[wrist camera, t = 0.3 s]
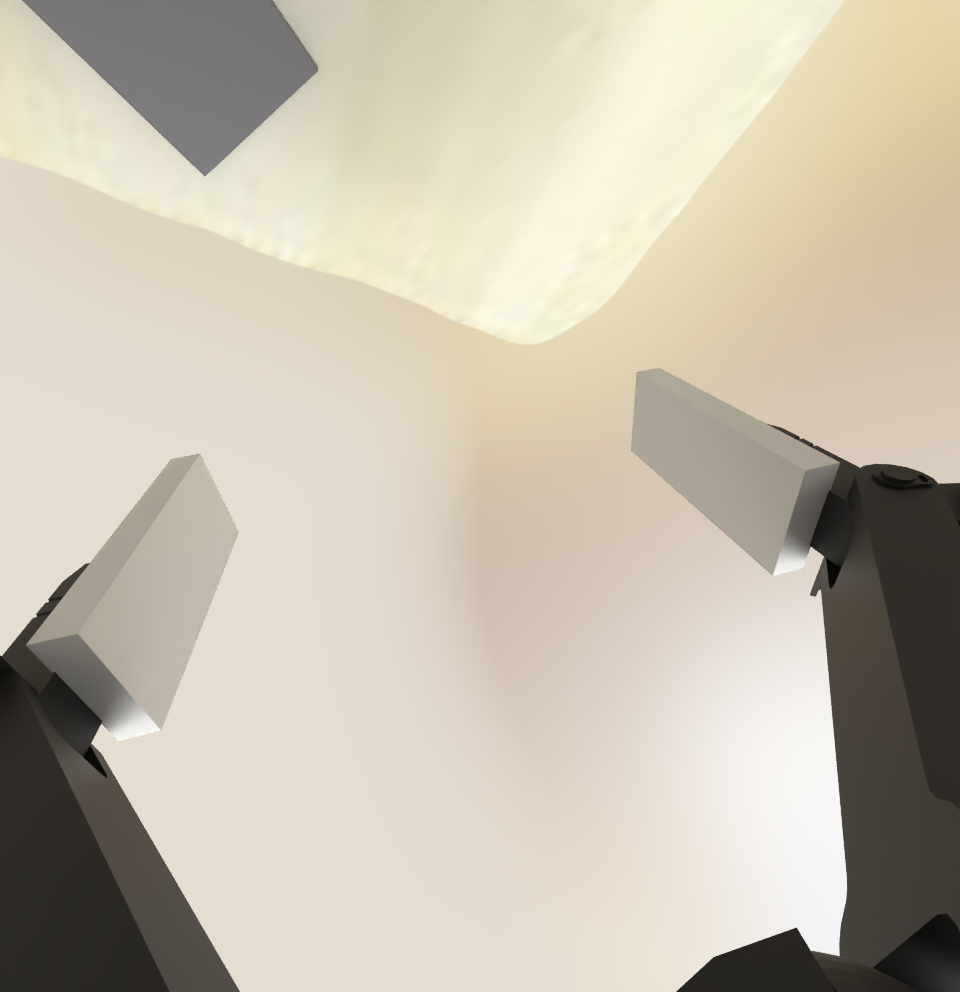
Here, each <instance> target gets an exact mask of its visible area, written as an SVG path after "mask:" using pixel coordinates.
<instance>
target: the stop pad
mask: <svg viewBox="0 0 960 992" xmlns="http://www.w3.org/2000/svg"><path fill="white" fill-rule="evenodd" d="M22 1H23V2H24V3H25V4H27V5H28V6H29V7H30V8H31V9H32V10H33V11H34V12H35V13H36V14H37V15H38V16H39V17H40V18H41V19H42V20H43V21H44V22H45V23H46V24H47V25H48V26H49V27H50V28H51V29H52V30H53V31H55V32H56V33H57V34H58V35H59V36H60V37H61V38H62V39H63V40H64V41H65V42H66V43H67V44H68V45H69V46H70V47H71V48H72V49H73V50H74V51H75V52H76V53H77V54H78V55H79V56H80V57H81V58H83V59H84V60H85V61H86V62H87V63H88V64H89V65H90V66H91V67H92V68H93V69H94V70H95V71H96V72H97V73H98V74H99V75H100V76H101V77H102V78H103V79H104V80H105V81H106V82H107V83H108V84H109V85H111V86H112V87H113V88H114V89H115V90H116V91H117V92H118V93H119V94H120V95H121V96H122V97H123V98H124V99H125V100H126V101H127V102H128V103H129V104H130V105H131V106H132V107H133V108H134V109H135V110H136V111H138V112H139V113H140V114H141V115H142V116H143V117H144V118H145V119H146V120H147V121H148V122H149V123H150V124H151V125H152V126H153V127H154V128H155V129H156V130H157V131H158V132H159V133H160V134H161V135H162V136H163V137H164V138H166V139H167V140H168V141H169V142H170V143H171V144H172V145H173V146H174V147H175V148H176V149H177V150H178V151H179V152H180V153H181V154H182V155H183V156H184V157H185V158H186V159H187V160H188V161H189V162H190V163H191V164H192V165H194V166H195V167H196V168H197V169H198V170H199V171H200V172H201V173H202V174H203V175H204V176H206V175H207V174H208V173H209V172H210V171H211V170H212V169H214V168H215V167H216V166H217V165H218V164H219V163H220V162H221V161H222V160H223V159H224V158H225V157H226V156H227V155H229V154H230V153H231V152H232V151H233V150H234V149H235V148H236V147H237V146H238V145H239V144H240V143H241V142H242V141H243V140H245V139H246V138H247V137H248V136H249V135H250V134H251V133H252V132H253V131H254V130H255V129H256V128H257V127H258V126H260V125H261V124H262V123H263V122H264V121H265V120H266V119H267V118H268V117H269V116H270V115H271V114H272V113H273V112H274V111H276V110H277V109H278V108H279V107H280V106H281V105H282V104H283V103H284V102H285V101H286V100H287V99H288V98H289V97H291V96H292V95H293V94H294V93H295V92H296V91H297V90H298V89H299V88H300V87H301V86H302V85H303V84H304V83H305V82H307V81H308V80H309V79H310V78H311V77H312V76H313V75H314V74H315V73H316V72H317V71H318V67H317V65H316V64H315V62H314V61H313V59H312V58H311V56H310V55H309V54H308V52H307V51H306V49H305V48H304V46H303V45H302V43H301V42H300V40H299V39H298V37H297V36H296V35H295V33H294V32H293V30H292V29H291V27H290V26H289V24H288V23H287V21H286V20H285V19H284V17H283V16H282V14H281V13H280V11H279V10H278V8H277V7H276V5H275V4H274V2H273V1H272V0H22Z"/></svg>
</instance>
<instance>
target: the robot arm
mask: <svg viewBox="0 0 960 992" xmlns="http://www.w3.org/2000/svg"><path fill="white" fill-rule="evenodd" d="M631 451H632V452H633V453H635V454H636V455H637V456H638V457H639V458H640V459H641V460H642V461H644V462H645V463H646V464H647V465H648V466H649V467H650V468H652V469H653V470H654V471H655V472H656V473H657V474H658V475H659V476H661V477H662V478H663V479H664V480H665V481H666V482H667V483H668V484H670V485H671V486H672V487H673V488H674V489H675V490H676V491H677V492H679V493H680V494H681V495H682V496H683V497H684V498H686V499H687V500H688V501H689V502H690V503H691V504H692V505H693V506H695V507H696V508H697V509H698V510H699V511H700V512H701V513H702V514H704V515H705V516H706V517H707V518H708V519H709V520H710V521H711V522H713V523H714V524H715V525H716V526H717V527H718V528H719V529H721V530H722V531H723V532H724V533H725V534H726V535H727V536H729V537H730V538H731V539H732V540H733V541H734V542H735V543H736V544H737V545H739V546H740V547H741V548H742V549H743V550H744V551H745V552H746V553H748V554H749V555H750V556H751V557H752V558H753V559H754V560H756V561H757V562H758V563H759V564H760V565H761V566H762V567H763V568H765V569H766V570H767V571H768V572H769V573H770V574H771V575H773V576H774V575H778V574H782V573H786V572H790V571H794V570H798V569H802V568H803V567H804V564H805V561H806V558H807V555H808V553H809V550H810V547H812V548H814V549H815V550H816V551H818V552H819V553H821V554H822V555H823V556H824V558H823V561H822V564H821V566H820V569H819V572H818V574H817V577H816V580H815V582H814V585H813V587H812V590H811V593H810V595H811V596H816V595H817V592H818V590H820V589H821V593H822V605H823V615H824V626H825V638H826V649H827V660H828V671H829V682H830V694H831V705H832V716H833V727H834V738H835V749H836V761H837V772H838V782H839V794H840V805H841V816H842V827H843V838H844V849H845V860H846V872H847V898H846V904H845V909H844V913H843V918H842V922H841V931H840V943H839V946H840V956H835V955H830V954H826V953H821V952H815V951H810V949H809V947H808V946H807V944H806V942H805V941H804V939H803V938H802V936H801V934H800V932H799V931H798V929H797V928H794V929H791V930H789V931H786V932H783V933H780V934H777V935H775V936H772V937H769V938H766V939H763V940H761V941H758V942H755V943H752V944H749V945H747V946H744V947H741V948H738V949H735V950H732V951H730V952H727V953H724V954H721V955H719V956H716V957H713V958H712V959H711V960H710V961H709V962H708V963H707V964H706V965H705V966H704V967H703V968H701V969H700V970H699V971H698V972H697V973H696V974H695V975H694V976H693V977H692V978H691V979H690V980H688V981H687V982H686V983H685V984H684V985H683V986H682V987H681V988H680V989H679V990H678V991H677V992H960V483H950V484H938V483H937V482H936V481H935V480H934V479H933V478H931V477H930V476H928V475H926V474H924V473H922V472H919V471H916V470H913V469H910V468H907V467H902V466H896V465H889V464H873V465H866V466H863V467H861V468H859V467H857V466H856V465H854V464H851V463H850V462H848V461H846V460H844V459H842V458H840V457H838V456H836V455H834V454H832V453H830V452H828V451H826V450H824V449H822V448H820V447H818V446H813V444H812V443H810V442H808V441H807V440H805V439H800V438H799V436H797V435H795V434H793V433H791V432H789V431H787V430H785V429H783V428H780V427H776V426H773V425H769V424H766V423H764V422H762V421H760V420H758V419H756V418H754V417H752V416H750V415H748V414H746V413H744V412H742V411H741V410H739V409H736V408H735V407H733V406H731V405H729V404H727V403H725V402H723V401H721V400H719V399H718V398H716V397H713V396H712V395H710V394H708V393H706V392H704V391H702V390H700V389H698V388H696V387H695V386H693V385H691V384H689V383H687V382H685V381H683V380H681V379H679V378H677V377H675V376H673V375H671V374H670V373H668V372H666V371H664V370H662V369H660V368H657V369H652V370H646V371H641V372H637V377H636V389H635V403H634V417H633V430H632V445H631ZM238 532H239V531H238V529H237V528H236V525H235V523H234V521H233V519H232V517H231V515H230V513H229V511H228V509H227V507H226V505H225V503H224V501H223V499H222V497H221V495H220V493H219V491H218V489H217V487H216V485H215V483H214V481H213V479H212V477H211V475H210V473H209V471H208V469H207V467H206V465H205V463H204V461H203V458H202V456H201V454H196V455H191V456H185V457H180V458H175V459H171V460H170V462H169V463H168V464H167V465H166V467H165V468H164V469H163V470H162V472H161V473H160V474H159V476H158V477H157V478H156V479H155V481H154V482H153V483H152V485H151V486H150V487H149V488H148V490H147V491H146V492H145V493H144V495H143V496H142V497H141V499H140V500H139V501H138V502H137V504H136V505H135V506H134V508H133V509H132V510H131V511H130V513H129V514H128V515H127V516H126V518H125V519H124V520H123V522H122V523H121V524H120V526H119V527H118V528H117V529H116V531H115V532H114V533H113V534H112V536H111V537H110V538H109V539H108V541H107V542H106V543H105V545H104V546H103V547H102V549H101V550H100V551H99V552H98V554H97V555H96V556H95V558H94V559H93V560H92V561H91V562H90V563H88V564H85V565H84V566H82V567H81V568H80V569H79V570H77V571H76V572H75V573H73V574H72V575H71V576H69V577H68V578H67V579H66V580H64V581H63V582H62V583H61V584H60V586H59V587H58V588H57V589H56V591H55V592H54V593H53V594H52V595H51V597H50V598H49V602H48V603H45V604H44V606H43V607H42V608H41V609H40V610H39V611H38V613H37V614H36V615H37V617H36V618H33V619H32V620H31V621H30V623H29V624H28V625H27V626H26V627H25V629H24V630H23V631H22V632H21V634H20V635H19V636H18V637H17V638H16V640H15V641H14V642H13V643H12V645H11V646H10V647H9V648H8V649H7V651H6V652H5V653H4V654H3V656H2V657H1V656H0V992H240V991H239V989H238V988H237V986H236V984H235V983H234V981H233V979H232V978H231V976H230V974H229V972H228V970H227V969H226V967H225V965H224V964H223V962H222V960H221V958H220V957H219V955H218V953H217V952H216V950H215V949H214V946H213V945H212V943H211V941H210V940H209V938H208V936H207V935H206V933H205V931H204V929H203V928H202V926H201V924H200V922H199V921H198V919H197V917H196V915H195V914H194V912H193V910H192V909H191V907H190V905H189V903H188V902H187V900H186V898H185V897H184V895H183V893H182V891H181V890H180V888H179V886H178V884H177V883H176V881H175V879H174V878H173V876H172V874H171V873H170V871H169V869H168V867H167V866H166V864H165V862H164V861H163V859H162V857H161V855H160V854H159V852H158V850H157V848H156V847H155V845H154V843H153V841H152V840H151V838H150V836H149V835H148V833H147V831H146V830H145V828H144V826H143V824H142V823H141V821H140V819H139V817H138V816H137V814H136V813H135V811H134V809H133V807H132V805H131V804H130V802H129V800H128V798H127V797H126V795H125V793H124V792H123V790H122V788H121V786H120V785H119V783H118V781H117V780H116V778H115V776H114V775H113V773H112V771H111V769H110V768H109V766H108V764H107V762H106V761H105V759H104V757H103V756H102V754H101V753H100V752H99V751H98V750H97V749H96V748H95V747H94V746H93V745H92V744H91V742H92V740H93V738H94V736H95V735H96V733H97V731H98V729H99V727H100V725H101V724H103V726H104V727H105V728H106V729H107V730H108V731H109V732H110V733H111V734H112V735H113V736H114V737H115V738H116V739H117V740H118V741H121V740H125V739H129V738H133V737H137V736H141V735H145V734H149V733H152V732H156V731H161V729H162V727H163V724H164V721H165V719H166V716H167V714H168V711H169V709H170V706H171V704H172V701H173V698H174V696H175V693H176V691H177V688H178V686H179V683H180V680H181V678H182V676H183V673H184V670H185V668H186V665H187V663H188V660H189V658H190V655H191V653H192V650H193V647H194V644H195V642H196V640H197V637H198V635H199V632H200V630H201V627H202V624H203V622H204V619H205V617H206V614H207V612H208V609H209V606H210V604H211V602H212V599H213V596H214V594H215V591H216V589H217V586H218V584H219V581H220V579H221V576H222V573H223V571H224V568H225V566H226V563H227V560H228V558H229V556H230V553H231V550H232V548H233V545H234V543H235V540H236V538H237V535H238Z"/></svg>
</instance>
